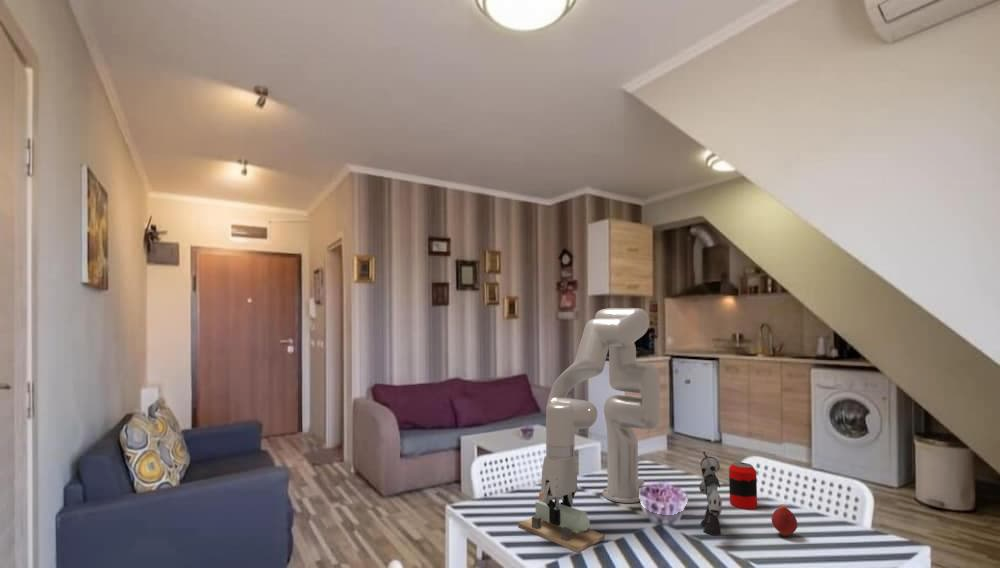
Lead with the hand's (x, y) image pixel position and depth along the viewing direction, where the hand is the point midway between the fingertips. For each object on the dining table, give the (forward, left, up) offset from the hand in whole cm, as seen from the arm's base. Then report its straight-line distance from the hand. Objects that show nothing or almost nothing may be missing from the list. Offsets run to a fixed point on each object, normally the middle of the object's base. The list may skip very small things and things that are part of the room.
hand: (560, 520), depth 132 cm
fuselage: (0, 0, 0) cm, 0 cm away
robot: (-32, +26, -3) cm, 41 cm away
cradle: (0, 0, -3) cm, 3 cm away
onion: (-42, +41, -3) cm, 59 cm away
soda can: (-57, +25, -3) cm, 62 cm away
